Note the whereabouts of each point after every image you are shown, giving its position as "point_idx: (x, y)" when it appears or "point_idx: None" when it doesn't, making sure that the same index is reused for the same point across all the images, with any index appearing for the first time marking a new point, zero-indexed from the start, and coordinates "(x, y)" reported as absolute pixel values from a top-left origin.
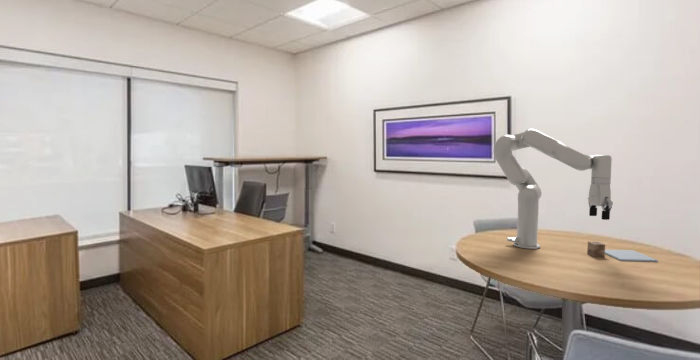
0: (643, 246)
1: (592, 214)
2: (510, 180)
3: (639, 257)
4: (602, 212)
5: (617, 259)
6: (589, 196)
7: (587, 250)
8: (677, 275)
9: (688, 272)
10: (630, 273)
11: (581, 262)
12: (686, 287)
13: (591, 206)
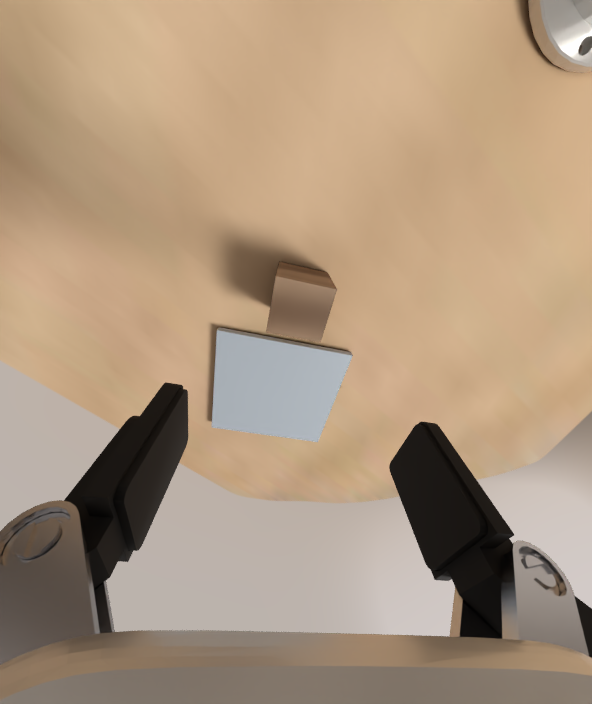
0: (361, 491)
1: (414, 450)
2: None
3: (238, 403)
4: (107, 465)
5: (234, 330)
6: None
7: (329, 276)
8: (76, 375)
9: (121, 420)
10: (38, 229)
11: (185, 95)
12: None
13: (504, 573)
